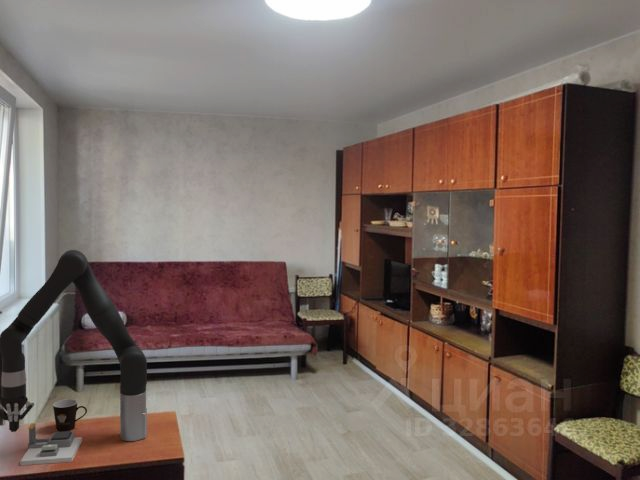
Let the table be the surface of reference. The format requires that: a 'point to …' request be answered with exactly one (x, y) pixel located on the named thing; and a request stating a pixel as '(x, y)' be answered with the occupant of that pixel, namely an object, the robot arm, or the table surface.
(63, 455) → the panel
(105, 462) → the table surface
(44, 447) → the rocker switch
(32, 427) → the paddle slider
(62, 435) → the push button
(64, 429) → the coffee mug
